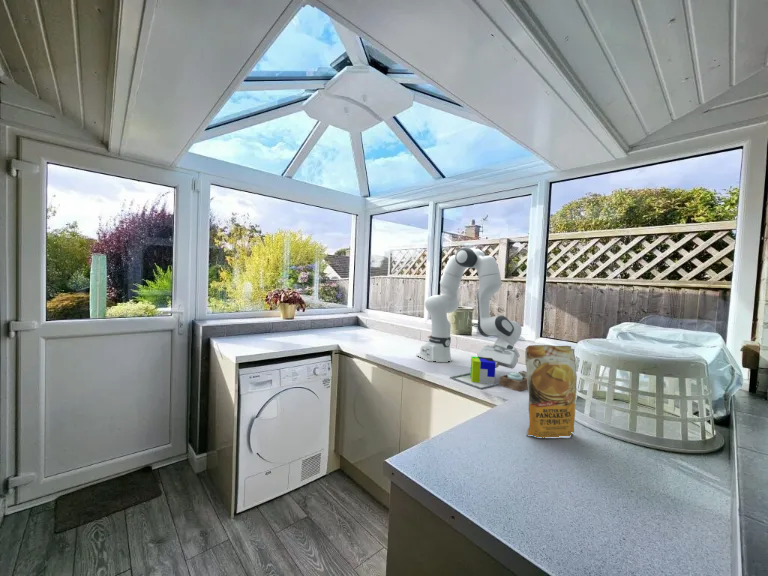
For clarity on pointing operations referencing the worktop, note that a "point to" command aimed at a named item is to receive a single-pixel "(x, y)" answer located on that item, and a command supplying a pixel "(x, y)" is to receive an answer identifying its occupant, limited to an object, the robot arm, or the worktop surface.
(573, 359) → the pancake mix bag
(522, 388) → the brown wooden box
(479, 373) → the puzzle toy
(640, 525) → the worktop surface
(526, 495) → the worktop surface
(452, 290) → the robot arm
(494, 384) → the frame
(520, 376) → the dome button
